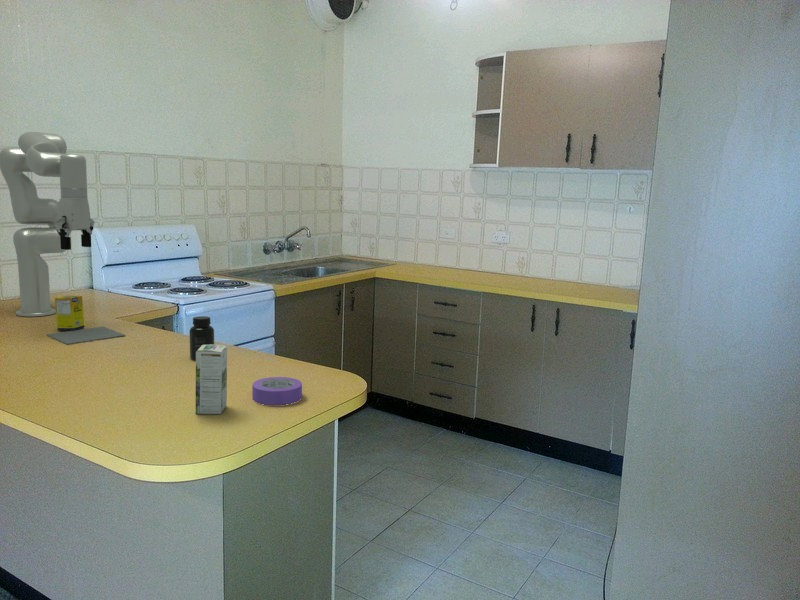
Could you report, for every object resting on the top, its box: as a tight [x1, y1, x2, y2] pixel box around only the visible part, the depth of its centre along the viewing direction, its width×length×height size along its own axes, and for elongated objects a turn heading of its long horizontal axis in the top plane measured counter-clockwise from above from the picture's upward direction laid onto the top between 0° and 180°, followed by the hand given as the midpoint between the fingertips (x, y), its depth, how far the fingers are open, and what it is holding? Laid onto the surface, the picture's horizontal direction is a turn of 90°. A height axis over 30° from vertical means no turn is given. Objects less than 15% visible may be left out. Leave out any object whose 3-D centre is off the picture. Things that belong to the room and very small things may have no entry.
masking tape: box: [251, 376, 303, 406], centre depth 149 cm, size 12×12×4 cm
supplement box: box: [54, 295, 85, 331], centre depth 207 cm, size 6×6×11 cm
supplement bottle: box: [189, 315, 215, 361], centre depth 180 cm, size 7×7×12 cm
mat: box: [45, 326, 126, 346], centre depth 200 cm, size 16×18×1 cm
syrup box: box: [195, 344, 228, 415], centre depth 138 cm, size 6×6×14 cm
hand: (76, 248), depth 200 cm, fingers open, 9 cm apart
